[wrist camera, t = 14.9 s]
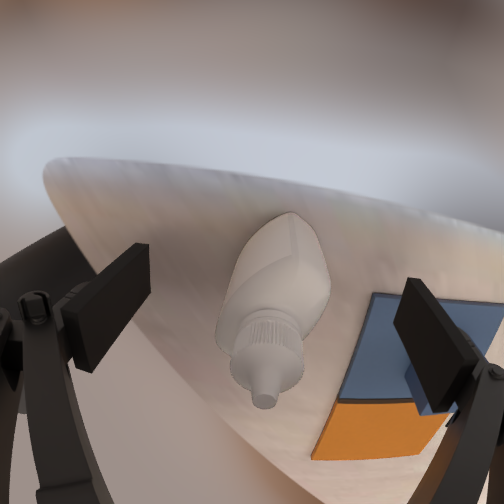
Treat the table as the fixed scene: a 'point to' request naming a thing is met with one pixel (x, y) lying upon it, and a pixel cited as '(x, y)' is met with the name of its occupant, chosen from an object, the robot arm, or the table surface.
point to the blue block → (419, 394)
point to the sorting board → (391, 385)
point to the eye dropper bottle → (273, 307)
